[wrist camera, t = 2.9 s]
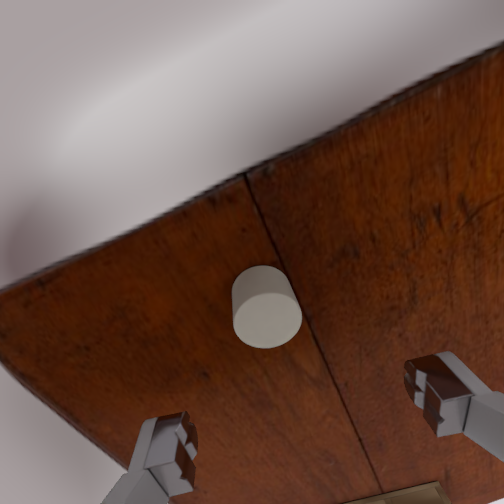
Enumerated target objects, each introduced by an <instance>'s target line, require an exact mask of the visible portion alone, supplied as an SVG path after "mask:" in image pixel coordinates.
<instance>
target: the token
mask: <svg viewBox="0 0 504 504" xmlns="http://www.w3.org/2000/svg"><path fill="white" fill-rule="evenodd" d="M232 306H233V326H234V330H235V332H236V334H237V336H238V337H239V338H240V339H241V340H242V341H243V342H244V343H246V344H248V345H250V346H253V347H257V348H272V347H276V346H279V345H282V344H284V343H286V342H287V341H289V340H290V339H291V338H292V337H293V336H294V335H295V334H296V333H297V332H298V330H299V328H300V325H301V321H302V313H301V309H300V307H299V304H298V302H297V300H296V298H295V295H294V293H293V291H292V288H291V286H290V284H289V281H288V279H287V277H286V276H285V275H284V274H283V273H282V272H281V271H280V270H278V269H276V268H274V267H271V266H263V265H262V266H255V267H251V268H249V269H247V270H245V271H244V272H242V273H241V274H240V275H239V276H238V277H237V279H236V280H235V282H234V284H233V287H232Z"/></svg>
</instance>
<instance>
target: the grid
mask: <svg viewBox="0 0 504 504" xmlns="http://www.w3.org/2000/svg"><path fill="white" fill-rule="evenodd" d="M344 504H452V503H451V502H450V500H449V498H448V497H447V495H446V494H445V492H444V490H443V489H442V487H441V486H440V484H439V482H438V481H436V482H432V483H428V484H424V485H419V486H415V487H411V488H407V489H403V490H398V491H394V492H390V493H386V494H382V495H377V496H373V497H369V498H365V499H361V500H356V501H352V502H348V503H344Z"/></svg>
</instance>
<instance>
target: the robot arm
mask: <svg viewBox="0 0 504 504" xmlns="http://www.w3.org/2000/svg"><path fill="white" fill-rule="evenodd" d="M404 368H405V369H406V371H407V373H406V375H405V376H404V384H405V387H406V390H407V392H408V394H409V396H410V398H411V400H412V401H413V403H414V404H415V405H417V406H418V407H420V408H422V409H423V417H424V419H425V420H426V421H427V423H428V424H429V426H430V427H431V429H432V430H433V432H434V433H435V434H436V436H437V437H441V436H446V435H451V434H457V433H462V432H464V434H465V435H466V436H467V437H469V438H470V439H472V440H473V441H475V442H476V443H477V444H479V445H480V446H482V447H483V448H484V449H486V450H487V451H489V452H490V453H492V454H493V455H494V456H496V457H497V458H499V459H500V460H501V461H503V462H504V394H503V393H500V392H498V391H495V392H492V391H491V390H490V389H489V388H488V387H487V386H486V385H485V384H484V383H483V382H482V381H481V380H480V379H479V378H478V377H477V376H476V375H475V374H474V373H473V372H472V371H471V370H470V369H469V368H467V367H466V366H465V365H464V364H463V363H462V362H461V361H460V360H459V359H458V358H457V357H456V356H455V355H454V354H453V353H451V352H449V351H446V352H442V353H438V354H434V355H433V354H432V355H427V356H423V357H419V358H415V359H411V360H407V361H406V362H405V365H404ZM189 419H190V416H189V414H188V412H187V411H185V412H180V413H175V414H170V415H166V416H161V417H156V418H151V419H147V420H145V421H144V423H143V424H142V426H141V430H140V433H139V436H138V440H137V443H136V446H135V449H134V453H133V456H132V459H131V463H130V466H129V469H128V473H127V474H123V475H122V476H121V478H120V479H119V481H118V482H117V483H116V484H115V486H114V487H113V489H112V490H111V491H110V492H109V494H108V495H107V496H106V498H105V499H104V500H103V501H102V503H101V504H167V502H168V500H169V497H171V496H175V495H179V494H183V493H187V492H191V491H193V488H194V479H195V469H196V467H195V465H194V463H193V462H192V460H193V459H194V457H195V456H196V454H197V449H198V436H197V431H196V427H195V425H194V424H193V423H191V422H189Z"/></svg>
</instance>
